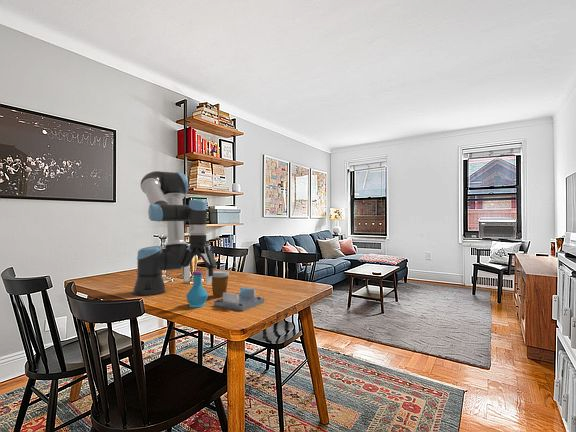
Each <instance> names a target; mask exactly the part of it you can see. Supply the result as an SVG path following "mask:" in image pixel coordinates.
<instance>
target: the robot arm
mask: <svg viewBox="0 0 576 432" xmlns="http://www.w3.org/2000/svg"><path fill="white" fill-rule="evenodd" d="M140 189H141V191H142V193H144V194H145V195H146V197H147V200H148V203H149V205H148V219H149V221H150V222H151V221H152V222H167V223H166V224H167V225H166V227H167V228H166V229H167V242H166V244H165V245H164V248H163V247H162V246H161V245H153V246H148V247H147V246H146V247H143V248H140V249H138V251H137V257H136V260H137V261H136V262H137V268H136V269H137V271H136V272H137V273H136V275H137V276H136V281H135V284H134V287H133V289H132V290H133V295H137V296H152V295H158V294H162V293H165V292H166V285H165V282H164V280H163V276H162V275H163V271H164V272H165V271H175V270H177V271H178V270H179V271H180V270H182V272H183V282H188V281H190V279H191V278H190V277H191V276H190V273H191V271H190V267H191V266H190V265H191V262H192V261H193V258H194V257H195V256H197V257H200V258H201V259H202V261H203V262H204V264H205V266H206V269H205V270H206V271H205V272H206V274H205V275H206V276H205V277H206V278H205V279H206V282H205V284H206V285H212V276H213V271H214V268H217V267H218V265H217V262H216V259H215V256H214V254H213V251H212V246H211V245H206V243H207V233H208V231H207V216H208V215H207V213H208V212H207V210H208V207H207V201H206V200H205V199H190V200H189V202H188V204H186V205H185V204H184V203H183V199H184V198H185V197H186V194H188V192H189V180H188V177H187V176H186V174H184V173H181V172H171V171H170V172H169V171H157V170H156V171H154V170H153V171H151V172H149V173H147V174H145V175H144V176H143V177H142V179H141V181H140ZM184 222H188V234H189V236H188V243H189V244H188V243H187V242H186V241H185V225H184Z"/></svg>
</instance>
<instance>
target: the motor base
mask: <svg viewBox="0 0 576 432" xmlns="http://www.w3.org/2000/svg"><path fill="white" fill-rule="evenodd" d="M264 303H265V297H261V296H256V288H251V287H244V286H240V287H239V292H237V293H233V292H227V291H226V292H223V297H221V298H220V299H217V300H214V301H213V306H214V307H219V308H225V309H230V310H234V311H240V312H244V311H247V310H249V309H251V308H255V307H256V306H259V305H261V304H264Z"/></svg>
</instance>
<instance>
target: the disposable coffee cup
mask: <svg viewBox="0 0 576 432" xmlns="http://www.w3.org/2000/svg"><path fill="white" fill-rule="evenodd" d="M229 276H230V273H229V270H226V269H225V270H224V269H223V270H222V269H217V270H213V276H212V283H211V288H212V296H213V297H214V298H223V292H227V291H228V290H227V289H228V281H229Z"/></svg>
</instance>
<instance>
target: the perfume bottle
mask: <svg viewBox="0 0 576 432" xmlns="http://www.w3.org/2000/svg"><path fill="white" fill-rule="evenodd" d="M203 273H204V272H203V271H202V270H193V271H192V278H193V279H192V280H193V281H192V282H193V283H192V287H191V288H190V290H189V291H188V292H187V294H186V300H187V303H189V307H190V308H199V307H200V308H201V307H204V306H206V304H205V303H206V302H207V299H208V298H209V297H208V296H209V294H208V292H207V290H206V289H205V288H204V287H203V285H202V279H203V278H202V276H203Z"/></svg>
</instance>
